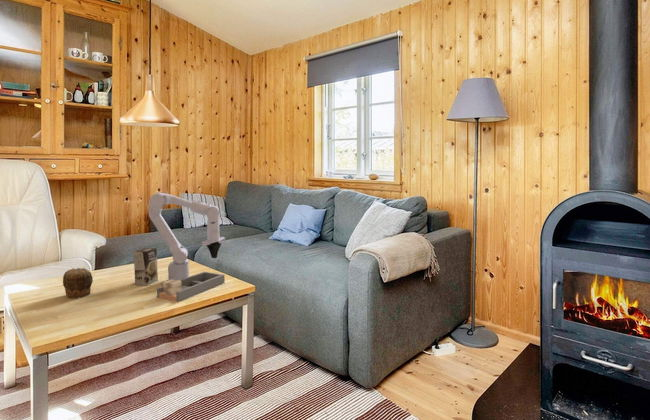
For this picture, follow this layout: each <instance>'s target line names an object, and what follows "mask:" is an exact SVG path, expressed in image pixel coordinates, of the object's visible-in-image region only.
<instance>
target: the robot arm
mask: <svg viewBox="0 0 650 420" xmlns="http://www.w3.org/2000/svg"><path fill="white" fill-rule="evenodd" d="M172 204H173V205H174V204H175V205H176V206H177V205H178V206H181V207H184V208H189V209H190V210H191V212H192V213H195V214H199V215H201V216H203V217H204V216H206V217H207V221H206V226H207V227H206V230H207V234H206V236H207V239H205V240H204V241H201V246H202V247H207V249H208V251H209V253H210V257H211V258H212V259H217V258H218V254H219V251H220V248H221V246H222V243H221V242H225V241H226V237H225V236H221V235H220V217H219V216H220V210H219V208H218V206H216V205H214V204H213V205H211V203H204V202H202V200H199V199H198V200H193V201H191V200H187V199H184V198H182V197H180V196H177V195H173V194H170V193H164V192H160V191H159V192H156V193H154V194H152V195H151V197H150V199H149V201H148V217H149V219H150V221H151V222H152V224H153V225H154V227H155V228H156V229H157V231H158V232H159V234H160V235H161V237H162V239H163V240H164V242H165V243H166V245H167V247H168V248H169V252H170V254H171V255H172V260H173V261H171V262H170V263H169V264H168V267H167V274H168V276H167V277H168V279H167V280H166V281H169V280H172V279H173V280H182V279H184V278H187V277H190V264H189V263H190V262H189V260H188V256H189V250H188V249H187V248H186V247H185V246H183V245H182V244H181V243H180V241H179V240H178V239H177V238H176V236H175V234H174V233H173V231H172V229H171V228H170V226H169V225H168V223H167V222H166V220H165V218H164V217H163V216H162V212H163V207H164V206H165V205H172Z"/></svg>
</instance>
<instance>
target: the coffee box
mask: <svg viewBox="0 0 650 420" xmlns="http://www.w3.org/2000/svg"><path fill="white" fill-rule="evenodd" d="M157 251H158V250H157V247H144V248H140V249H137V250H134V251H133V263H134V265H133V267H134V285H135V286H149V285H151V284H153V283H156V282H158V281H159V275H158V273H159V272H158V252H157Z"/></svg>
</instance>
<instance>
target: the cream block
mask: <svg viewBox="0 0 650 420" xmlns="http://www.w3.org/2000/svg"><path fill="white" fill-rule="evenodd" d="M163 286H164V294H167V295H172V296H173V295H176V292H178V291H181V290H182V288H181V281H179V280H173V279H172V280H169V281H167V280H166V281H164V282H163Z"/></svg>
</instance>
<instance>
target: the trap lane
mask: <svg viewBox="0 0 650 420" xmlns="http://www.w3.org/2000/svg"><path fill="white" fill-rule="evenodd" d="M179 281H181V288H182V290H181V291H178V292H176V295H173V296H172V295H167V294H164V285H162V286H159V287H157V288H156V298H159V299H162V300H163V299H164V300H169V301H174V302H178V303H179V302H182V301H184V300H187V299H189V298H192V297H194V296H196V295H199V294H201V293H204V292H206V291H208V290H211V289H213V288H215V287H218V286H220V285H221V286H222V285H223V284H225V283H226V282H225V281H226V280H225V274H222V273H215V272H210V271H202V272H199V273H195V274H193V275H189V277H187V278H184V279H182V280H179Z"/></svg>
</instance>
